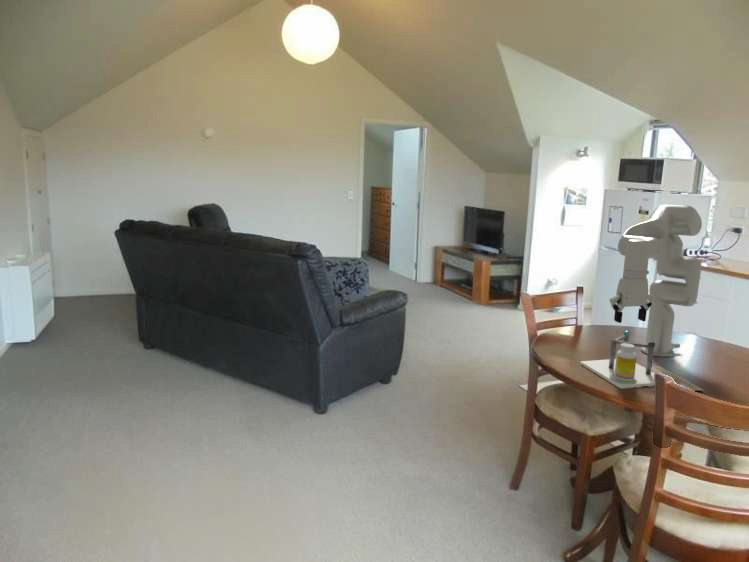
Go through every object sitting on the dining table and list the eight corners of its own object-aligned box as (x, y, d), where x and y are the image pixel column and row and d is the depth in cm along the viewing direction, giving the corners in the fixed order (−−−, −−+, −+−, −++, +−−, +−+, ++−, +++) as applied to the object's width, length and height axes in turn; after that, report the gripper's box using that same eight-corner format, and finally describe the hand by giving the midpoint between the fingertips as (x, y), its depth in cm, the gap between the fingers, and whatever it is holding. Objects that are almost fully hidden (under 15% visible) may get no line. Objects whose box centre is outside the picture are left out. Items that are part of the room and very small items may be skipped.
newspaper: (705, 394, 185) (706, 389, 184) (686, 395, 184) (687, 390, 184) (661, 370, 208) (662, 365, 207) (645, 370, 207) (645, 366, 206)
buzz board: (625, 360, 215) (626, 357, 215) (671, 384, 191) (672, 380, 191) (580, 364, 211) (580, 360, 211) (620, 388, 187) (621, 384, 187)
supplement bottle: (636, 382, 189) (640, 348, 186) (616, 381, 190) (620, 347, 188) (631, 375, 195) (634, 342, 193) (612, 374, 197) (615, 341, 194)
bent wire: (624, 360, 213) (627, 329, 210) (653, 374, 197) (657, 342, 195) (597, 361, 210) (600, 331, 208) (624, 377, 195) (628, 344, 192)
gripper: (648, 271, 190) (643, 317, 194) (606, 273, 187) (601, 319, 190) (663, 275, 183) (658, 322, 186) (620, 277, 179) (615, 325, 183)
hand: (629, 321), depth 188 cm, fingers open, 9 cm apart
